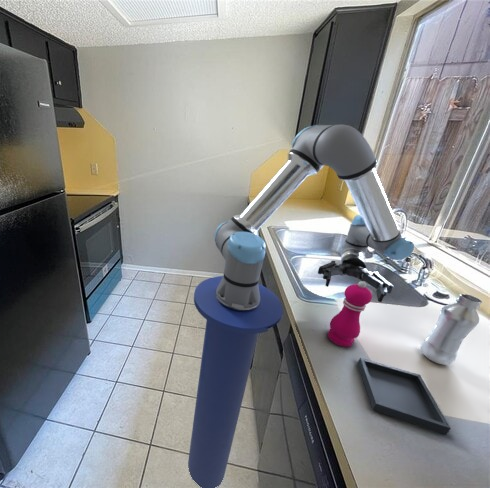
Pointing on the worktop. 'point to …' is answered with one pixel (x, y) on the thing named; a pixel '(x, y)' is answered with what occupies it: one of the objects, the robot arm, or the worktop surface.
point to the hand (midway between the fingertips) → (353, 290)
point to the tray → (401, 395)
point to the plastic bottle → (451, 329)
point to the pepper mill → (349, 315)
